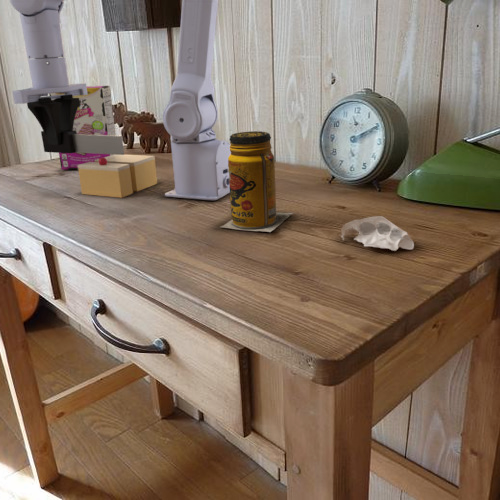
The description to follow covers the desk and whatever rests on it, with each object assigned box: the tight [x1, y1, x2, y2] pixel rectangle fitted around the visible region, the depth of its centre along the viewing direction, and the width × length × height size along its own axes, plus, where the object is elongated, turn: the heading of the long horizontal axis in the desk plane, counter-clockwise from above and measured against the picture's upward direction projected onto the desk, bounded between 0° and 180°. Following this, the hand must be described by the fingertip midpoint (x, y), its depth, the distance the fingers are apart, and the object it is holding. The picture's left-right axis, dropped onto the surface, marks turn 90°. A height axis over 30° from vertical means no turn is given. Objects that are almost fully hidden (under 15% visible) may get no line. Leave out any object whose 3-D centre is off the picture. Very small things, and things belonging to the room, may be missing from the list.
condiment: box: [221, 130, 293, 233], centre depth 72 cm, size 7×8×12 cm
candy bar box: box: [48, 84, 117, 171], centre depth 110 cm, size 11×5×16 cm, turn 84°
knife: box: [40, 130, 125, 155], centre depth 89 cm, size 16×2×4 cm, turn 65°
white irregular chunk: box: [340, 215, 415, 252], centre depth 63 cm, size 6×8×4 cm
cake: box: [94, 153, 158, 192], centre depth 96 cm, size 8×6×5 cm
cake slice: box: [77, 157, 134, 199], centre depth 91 cm, size 8×3×6 cm, turn 65°
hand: (60, 143), depth 92 cm, fingers closed on knife, 2 cm apart
